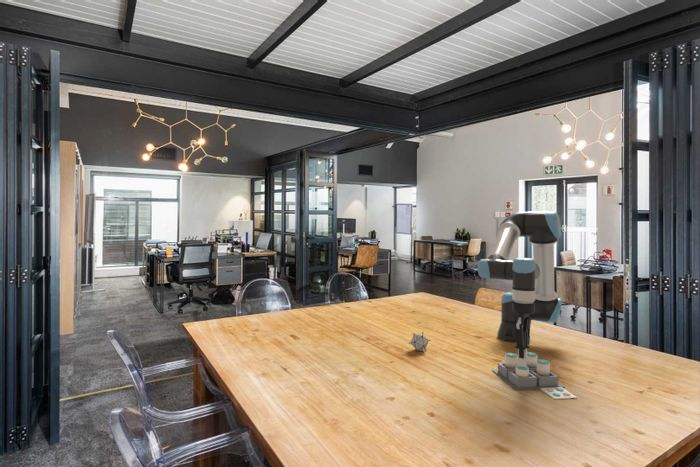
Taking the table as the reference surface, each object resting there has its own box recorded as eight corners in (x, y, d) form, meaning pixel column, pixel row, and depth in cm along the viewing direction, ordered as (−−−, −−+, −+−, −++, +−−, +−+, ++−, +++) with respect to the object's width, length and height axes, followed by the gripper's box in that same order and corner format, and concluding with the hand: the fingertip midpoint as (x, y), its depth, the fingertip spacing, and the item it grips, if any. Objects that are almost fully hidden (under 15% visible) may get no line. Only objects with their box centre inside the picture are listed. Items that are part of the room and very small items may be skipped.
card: (561, 388, 141) (561, 386, 141) (577, 398, 133) (577, 396, 133) (540, 389, 140) (540, 387, 140) (554, 399, 132) (554, 397, 132)
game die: (423, 359, 180) (429, 346, 174) (405, 351, 182) (411, 338, 176) (427, 345, 187) (433, 331, 181) (409, 337, 189) (416, 324, 183)
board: (535, 369, 159) (535, 360, 159) (564, 388, 141) (564, 378, 141) (492, 370, 157) (492, 361, 157) (515, 390, 139) (516, 380, 139)
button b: (513, 364, 155) (513, 352, 155) (519, 368, 151) (519, 356, 150) (502, 365, 155) (502, 352, 154) (508, 369, 150) (508, 356, 150)
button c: (545, 371, 148) (545, 358, 148) (552, 376, 144) (552, 363, 143) (533, 372, 147) (534, 359, 147) (540, 376, 143) (541, 363, 143)
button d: (533, 364, 156) (533, 351, 156) (539, 368, 151) (539, 355, 151) (522, 364, 155) (522, 352, 155) (528, 368, 151) (528, 356, 151)
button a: (524, 377, 147) (524, 364, 147) (531, 382, 143) (531, 368, 143) (513, 377, 147) (513, 364, 147) (519, 382, 142) (519, 369, 142)
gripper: (518, 297, 151) (517, 359, 152) (506, 302, 141) (505, 369, 142) (539, 299, 146) (538, 363, 147) (529, 305, 136) (528, 374, 137)
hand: (522, 366), depth 144 cm, fingers closed
